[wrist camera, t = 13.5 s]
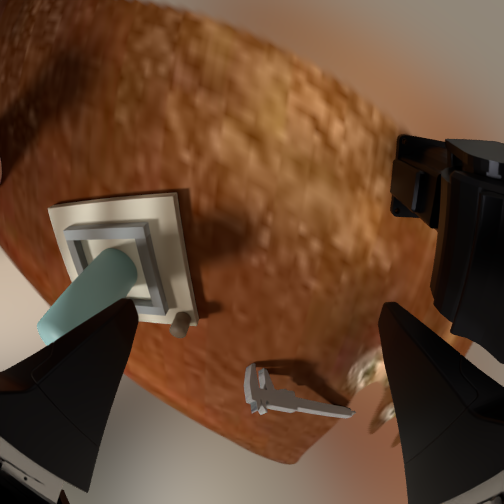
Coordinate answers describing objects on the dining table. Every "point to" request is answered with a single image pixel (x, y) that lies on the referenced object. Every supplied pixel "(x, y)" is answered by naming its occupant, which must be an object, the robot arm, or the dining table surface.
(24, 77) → the dining table surface
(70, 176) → the dining table surface
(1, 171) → the salt shaker
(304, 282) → the dining table surface
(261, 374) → the caliper
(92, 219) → the board
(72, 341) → the robot arm
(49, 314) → the pin
